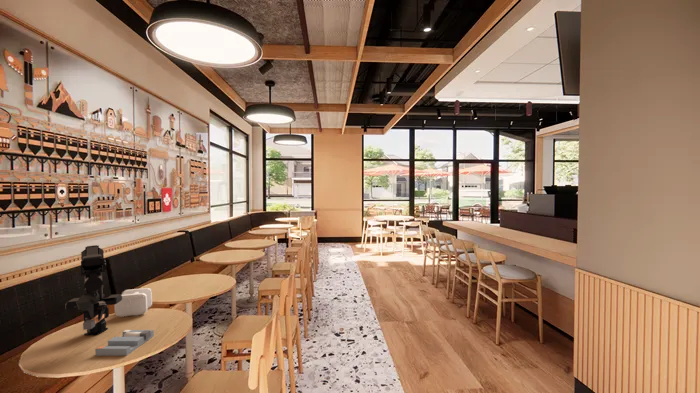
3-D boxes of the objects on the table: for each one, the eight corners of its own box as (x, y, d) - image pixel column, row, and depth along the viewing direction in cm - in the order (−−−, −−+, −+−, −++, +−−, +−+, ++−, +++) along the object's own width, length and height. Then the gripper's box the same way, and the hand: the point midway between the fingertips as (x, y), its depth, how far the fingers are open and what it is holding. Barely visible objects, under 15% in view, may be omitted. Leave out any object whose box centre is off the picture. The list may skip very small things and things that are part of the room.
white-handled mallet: (123, 339, 134) (123, 333, 134) (128, 336, 137) (128, 330, 137) (146, 339, 134) (145, 333, 133) (150, 336, 136) (150, 330, 136)
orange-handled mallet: (97, 319, 136) (97, 313, 136) (104, 318, 137) (104, 312, 137) (83, 329, 126) (83, 323, 126) (91, 328, 127) (90, 322, 127)
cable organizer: (154, 307, 173) (153, 287, 172) (145, 315, 162) (144, 293, 162) (124, 310, 170) (123, 289, 169) (113, 318, 159) (112, 296, 159)
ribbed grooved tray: (95, 355, 123) (95, 348, 123) (125, 336, 139) (125, 329, 139) (126, 355, 123) (126, 348, 123) (153, 335, 139) (153, 329, 139)
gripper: (54, 293, 122) (57, 332, 122) (108, 289, 126) (110, 326, 126) (73, 285, 133) (75, 320, 133) (122, 281, 137) (123, 315, 137)
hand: (95, 320), depth 132 cm, fingers closed on orange-handled mallet, 3 cm apart
